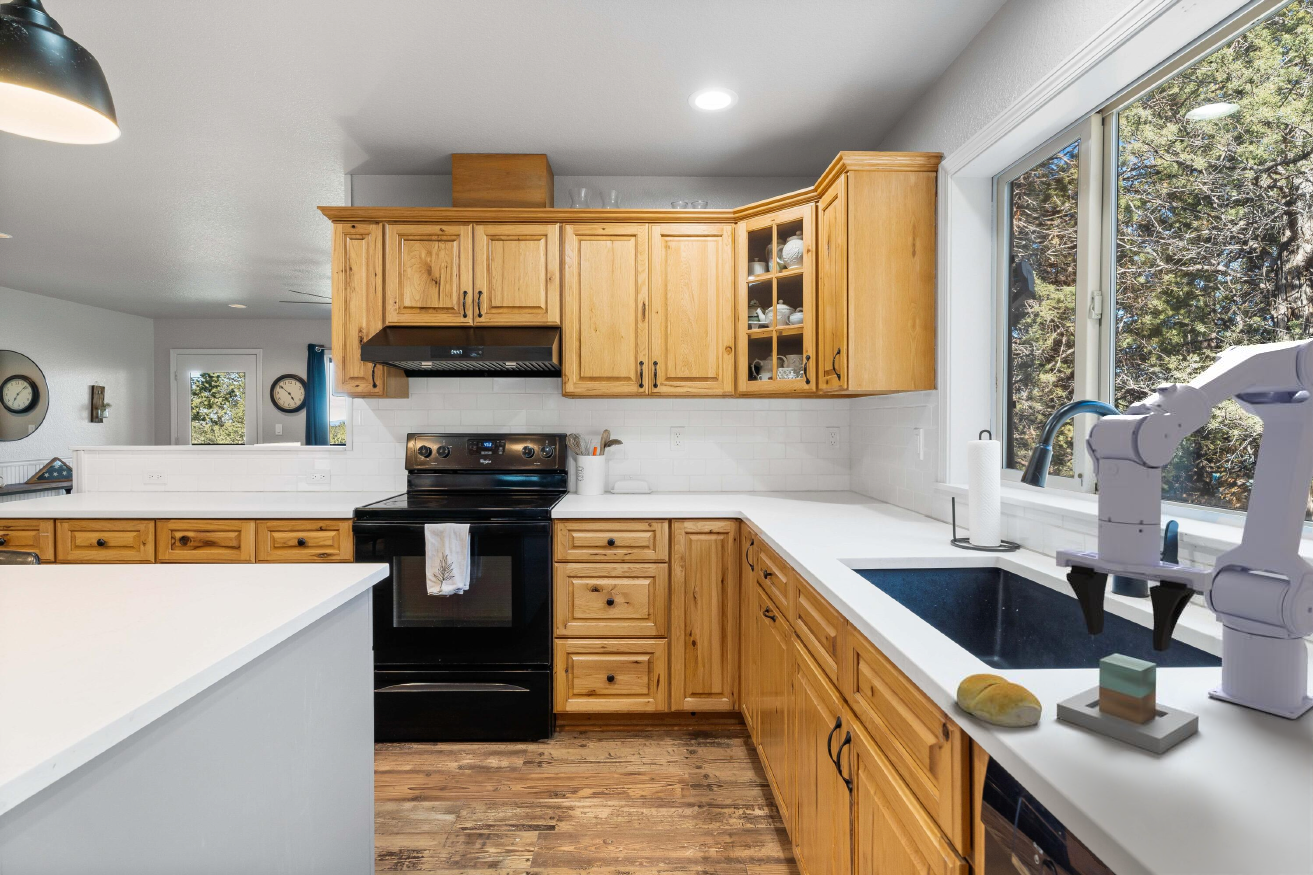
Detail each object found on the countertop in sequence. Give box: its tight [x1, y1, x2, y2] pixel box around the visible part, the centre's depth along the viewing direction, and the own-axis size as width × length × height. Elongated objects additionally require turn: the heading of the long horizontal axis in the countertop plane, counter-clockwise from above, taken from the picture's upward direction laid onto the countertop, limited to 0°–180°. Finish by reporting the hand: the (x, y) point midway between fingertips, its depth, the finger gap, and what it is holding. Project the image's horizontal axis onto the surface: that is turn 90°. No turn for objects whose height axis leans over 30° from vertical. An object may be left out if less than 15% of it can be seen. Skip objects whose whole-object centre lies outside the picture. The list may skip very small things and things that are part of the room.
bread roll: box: [956, 673, 1043, 728], centre depth 77 cm, size 8×9×4 cm
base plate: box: [1056, 685, 1200, 755], centre depth 73 cm, size 10×10×2 cm
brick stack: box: [1098, 653, 1157, 725], centre depth 73 cm, size 4×4×6 cm
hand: (1127, 640), depth 73 cm, fingers open, 6 cm apart
